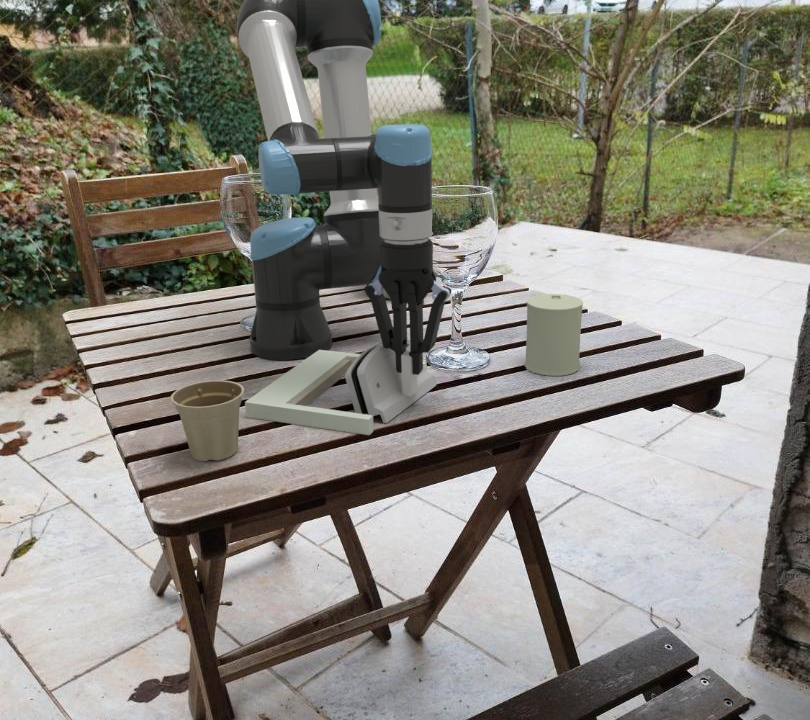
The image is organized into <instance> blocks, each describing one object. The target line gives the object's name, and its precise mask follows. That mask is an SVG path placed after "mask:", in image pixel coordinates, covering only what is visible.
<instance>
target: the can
mask: <svg viewBox="0 0 810 720" xmlns="http://www.w3.org/2000/svg"><path fill="white" fill-rule="evenodd" d="M583 306H584V302H583V300H582V298H579V297H576V296H573V295H570V294H569V295H568V294H563V293H561V294H560V293H543V294H537V295H534V296H530V297H529V298H527V300H526V339H525V341H526V342H525V343H526V344H525V345H526V347H525V359H524V360H525V361H524V368H525V367H526V368H525V369H526V370H527V371H529V372H530V371H531V373H533V374H535V373H536V375H539V374H540V375H541V376H544V375H546V376H545V377H563V376H564V375H565V376H569V374H570V375H573V374H575V373H577V372H578V371H580V367H581V366H580V349H581V347H580V346H581V333H582V332H581V330H582V316H583V315H582V314H583ZM576 371H577V372H576ZM574 372H575V373H574ZM572 373H573V374H572Z"/></svg>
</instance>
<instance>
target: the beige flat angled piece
mask: <svg viewBox="0 0 810 720" xmlns="http://www.w3.org/2000/svg"><path fill="white" fill-rule="evenodd" d="M361 354H362V353H354V352H353V353H352V352H343V351H336V350H335V351H333V350H327V351H326V350H318V351H317V352H315V353H314V354H312V355H311V356H310V357H307V358H304V360H303V361H301V362H300V363H298V364H297V365H295V366H294V367H292V368H291V369H290V370H288V371H287V372H285V373H284V374H283V375H281V376H280V377H278V378H277V379H276V380H274V381H273V382H271V383H269V384H268V385H267V386H265V387H264V388H263V389H261V390H260V391H259V392H257V393H256V394H254V395H253V396H252V397H250V398H248V399H247V400H246V401H244V409H245V415H246V416H245V417H246V418H251V419H256V420H257V419H258V420H264V421H265V420H266V421H270V422H271V421H272V422H278V423H285V424H291V425H296V426H297V425H298V426H304V427H311V428H318V429H325V430H330V431H337V432H344V431H345V433H353V434H357V433H358V434H359V435H365V436H370V435H371V434H372V433H373V432H374V416H373V415H367V414H359V413H355V412H351V411H344V410H343V411H342V410H338V409H337V410H336V409H330V408H323V407H315V406H309V405H310V404H312V403H313V402H314V401H315V400H316V399H318V398H319V397H320V396H321V395H323V394H324V393H325V392H326V391H327V390H329V389H330V388H331V387H332V386H333V385H334V384H336V383H337V382H338V381H339V380H341V379H342V378H343V377H344V376H345V374H346V372H347V370H348V368H349V367H350V366H351V364H352V363H353V362H354V360H355V359H356V358H357V357H358V356H359V355H361ZM423 366H424V368H425V370H426V371H427V372H428V365H427V360H426V361H425V360H423ZM343 375H344V376H343ZM342 376H343V377H342ZM341 377H342V378H341ZM340 378H341V379H340ZM307 405H308V406H307Z"/></svg>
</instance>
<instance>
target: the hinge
mask: <svg viewBox="0 0 810 720" xmlns="http://www.w3.org/2000/svg"><path fill="white" fill-rule="evenodd" d="M407 344H409V346H408V347H407V348H406V350H407V349H410V339H407ZM360 354H361V355H359V356H358V357H357V358H356V359H355V360H354V362H353V363H352V364H351V366H350V367H349V368H348V370H347V372H346V374H345V375H344V377H345V381H346V385H347V388H348V392H349V396H350V398H351V402H352V406H353V409H354V413H359V414H367V415H373V417H374V416H378V415H380V417H381V420H382V422H383V424H384V423H385V424H387V423H389V422H390V421H391V420H393V419H394V418H395V417H397V416H398V415H400V413H402V412H403V411H404V410H406V409H407V408H408V407H410V406H411V405H412V404H414V403H415V402H416V401H418V400H419V399H420V398H421V397H423V396H424V395H426V394H427V393H428V392H430V391H431V390H433V388H435V387H436V386H437V382H436V379H435V377H434V375H433V374H432V373H431V372H429V371H428V370H427V371H426V370H425V368H424V366H423V370H422V372H421V373H420V374H419V375H417V383H418V390H417V391H416V392H415V393H414V394H413V396H412V397H411V396H405V395H404V394H402V373H397V370H396V355H395V352H394V351H393V350H392V349H389V348H388V349H386V348H384V347H383V344H382V342H381V343H378V344H375V345H373V346H371V347H369V348H368V349H366V350H364V351H363V352H361V353H360Z"/></svg>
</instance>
